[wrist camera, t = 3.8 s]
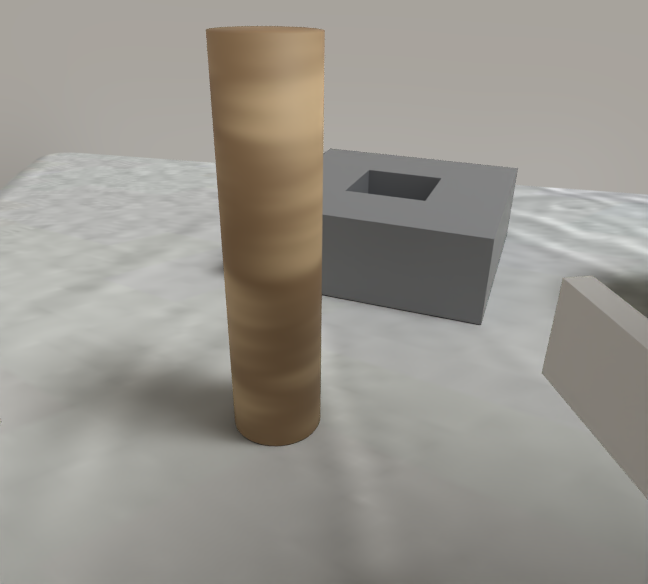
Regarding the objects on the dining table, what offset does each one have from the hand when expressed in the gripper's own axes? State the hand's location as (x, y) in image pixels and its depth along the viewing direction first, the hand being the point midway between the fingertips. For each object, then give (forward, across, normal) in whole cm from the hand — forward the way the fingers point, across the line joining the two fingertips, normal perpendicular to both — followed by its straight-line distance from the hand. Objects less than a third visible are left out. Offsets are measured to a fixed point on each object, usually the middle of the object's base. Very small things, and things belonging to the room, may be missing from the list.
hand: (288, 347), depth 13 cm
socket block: (+24, +9, -9) cm, 27 cm away
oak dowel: (+8, 0, -9) cm, 12 cm away
